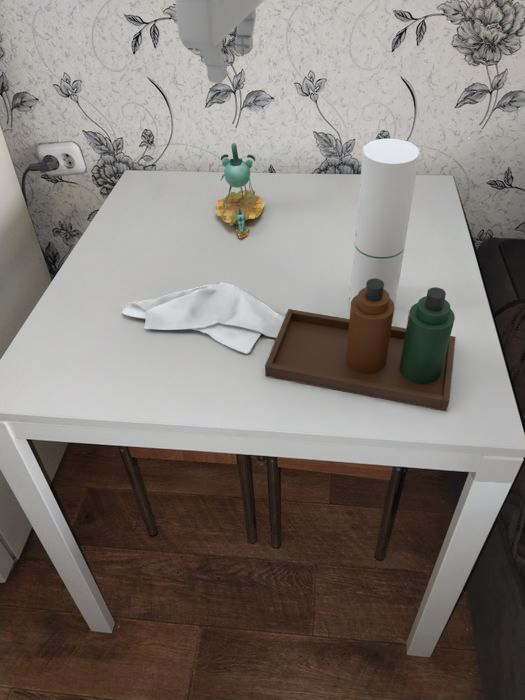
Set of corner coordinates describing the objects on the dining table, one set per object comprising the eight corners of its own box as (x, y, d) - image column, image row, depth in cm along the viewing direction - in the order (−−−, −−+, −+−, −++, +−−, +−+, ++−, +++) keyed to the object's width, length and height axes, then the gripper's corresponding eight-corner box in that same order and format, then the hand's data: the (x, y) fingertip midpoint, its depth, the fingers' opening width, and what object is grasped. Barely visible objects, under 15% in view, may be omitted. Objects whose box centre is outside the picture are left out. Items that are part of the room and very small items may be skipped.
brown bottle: (388, 349, 84) (400, 273, 75) (382, 377, 81) (394, 300, 71) (350, 342, 86) (357, 267, 76) (342, 369, 82) (348, 293, 73)
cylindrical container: (394, 288, 95) (416, 138, 78) (397, 317, 90) (422, 164, 73) (349, 287, 96) (362, 138, 78) (349, 315, 91) (363, 163, 73)
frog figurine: (202, 238, 108) (194, 158, 99) (225, 198, 122) (220, 124, 113) (253, 241, 106) (250, 160, 97) (271, 200, 120) (269, 126, 111)
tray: (453, 346, 85) (455, 336, 84) (446, 411, 77) (449, 401, 75) (288, 318, 91) (288, 308, 89) (265, 376, 82) (264, 366, 81)
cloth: (304, 304, 92) (304, 293, 91) (272, 364, 84) (272, 353, 82) (158, 269, 100) (156, 258, 98) (115, 321, 91) (112, 310, 89)
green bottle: (442, 359, 83) (461, 282, 73) (439, 387, 79) (458, 310, 69) (402, 352, 84) (415, 275, 75) (396, 379, 80) (410, 303, 71)
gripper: (216, -60, 51) (228, 102, 60) (279, -97, 65) (281, 39, 74) (149, -61, 52) (171, 97, 62) (225, -97, 66) (234, 36, 76)
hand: (231, 65), depth 68 cm, fingers open, 8 cm apart
